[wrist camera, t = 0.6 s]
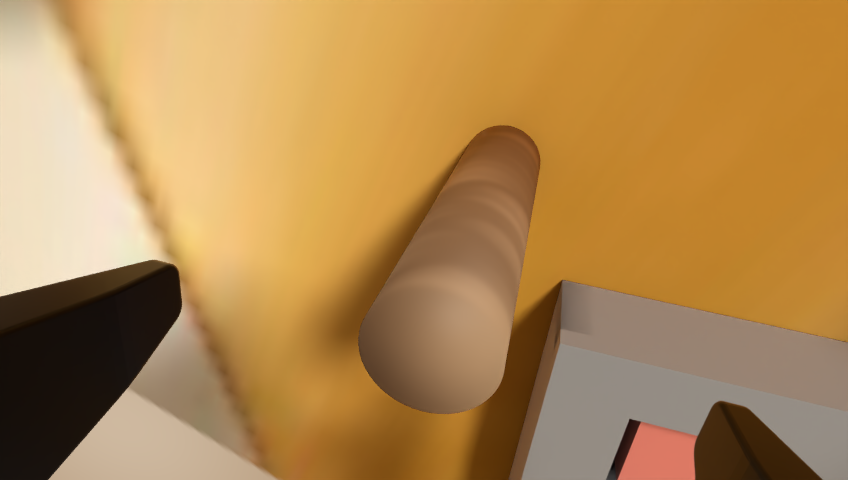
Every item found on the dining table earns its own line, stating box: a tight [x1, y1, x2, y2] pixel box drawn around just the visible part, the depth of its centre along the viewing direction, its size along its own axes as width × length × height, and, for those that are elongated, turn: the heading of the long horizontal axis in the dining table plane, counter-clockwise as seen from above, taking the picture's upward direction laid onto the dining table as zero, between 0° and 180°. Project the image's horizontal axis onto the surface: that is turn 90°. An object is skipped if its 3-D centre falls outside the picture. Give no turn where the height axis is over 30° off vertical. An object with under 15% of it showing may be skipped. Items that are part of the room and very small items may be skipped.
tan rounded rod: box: [358, 126, 540, 414], centre depth 14 cm, size 3×3×11 cm
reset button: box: [614, 419, 697, 480], centre depth 20 cm, size 3×3×2 cm
